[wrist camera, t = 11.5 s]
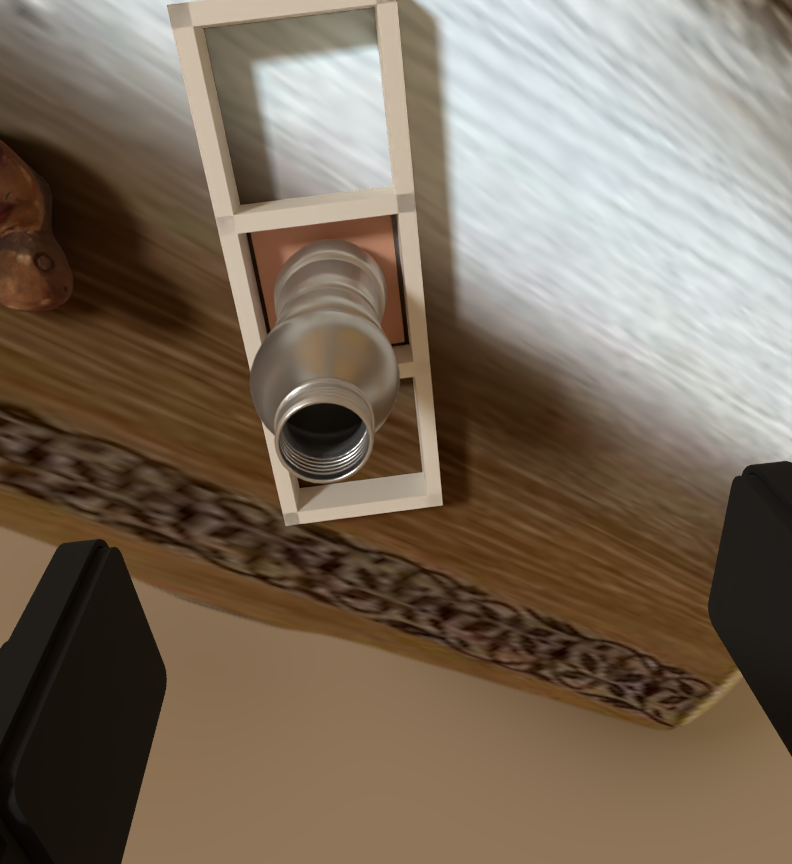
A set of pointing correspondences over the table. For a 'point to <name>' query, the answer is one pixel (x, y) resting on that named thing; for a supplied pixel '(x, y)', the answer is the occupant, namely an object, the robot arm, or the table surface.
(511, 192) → the table surface
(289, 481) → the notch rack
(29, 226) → the decorative turtle
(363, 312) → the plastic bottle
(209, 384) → the table surface
